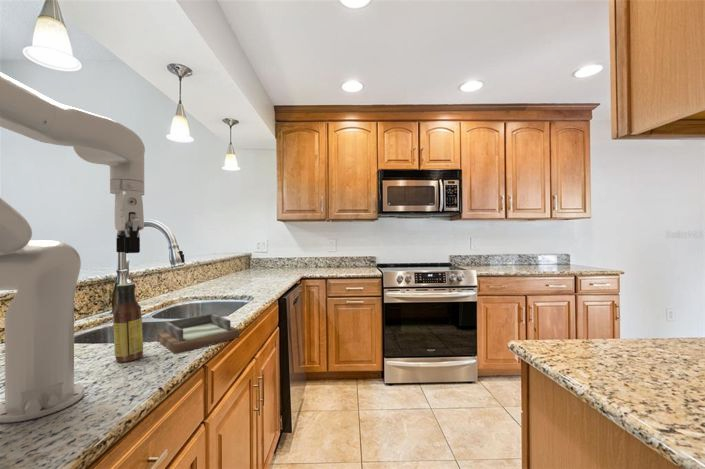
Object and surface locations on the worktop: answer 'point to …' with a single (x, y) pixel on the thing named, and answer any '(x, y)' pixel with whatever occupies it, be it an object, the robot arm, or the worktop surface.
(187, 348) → the dock
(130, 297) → the sauce bottle
